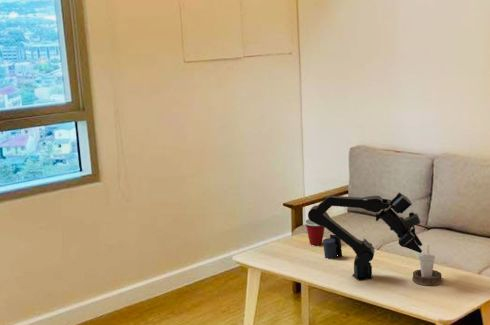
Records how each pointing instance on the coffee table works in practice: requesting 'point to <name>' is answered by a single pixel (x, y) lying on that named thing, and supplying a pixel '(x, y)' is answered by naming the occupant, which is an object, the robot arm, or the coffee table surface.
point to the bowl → (425, 281)
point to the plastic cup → (314, 232)
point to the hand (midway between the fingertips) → (421, 248)
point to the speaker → (332, 247)
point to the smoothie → (426, 264)
